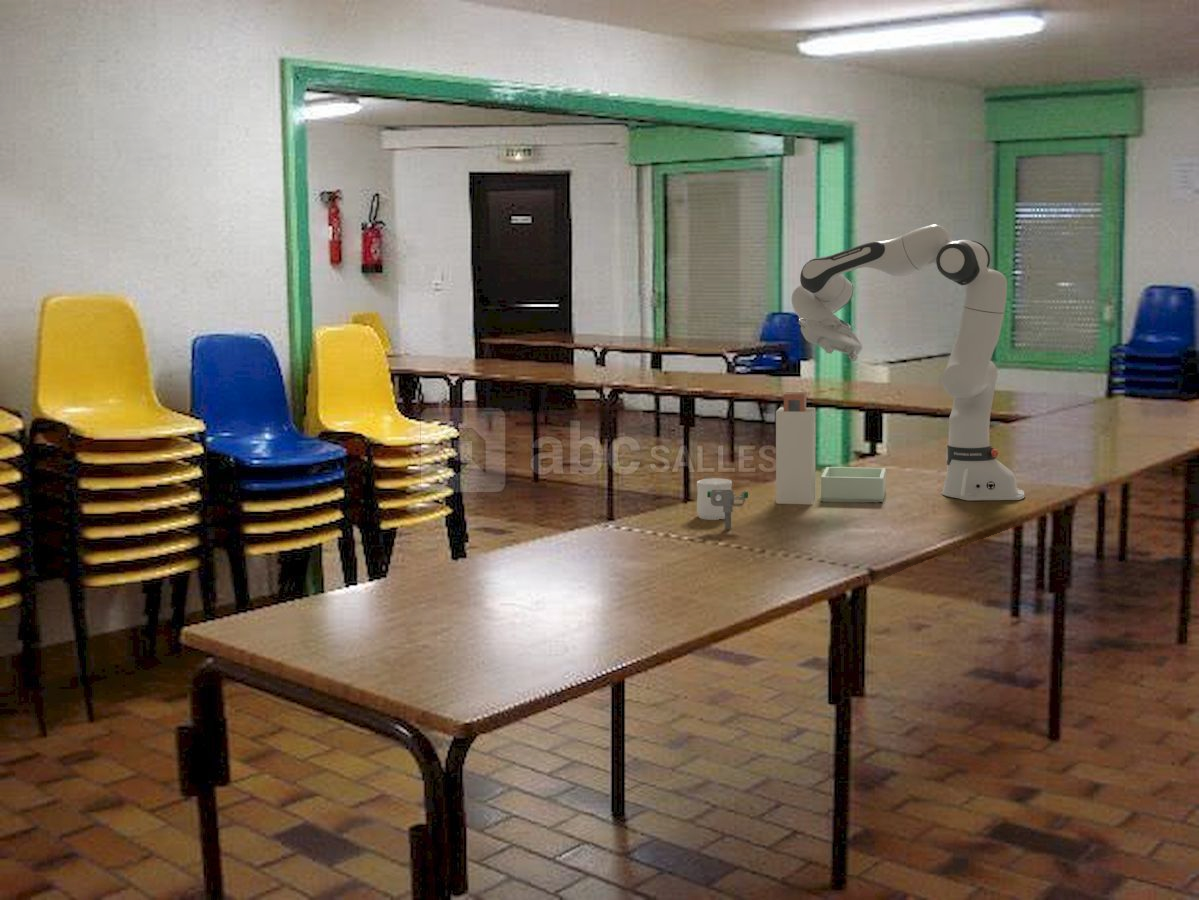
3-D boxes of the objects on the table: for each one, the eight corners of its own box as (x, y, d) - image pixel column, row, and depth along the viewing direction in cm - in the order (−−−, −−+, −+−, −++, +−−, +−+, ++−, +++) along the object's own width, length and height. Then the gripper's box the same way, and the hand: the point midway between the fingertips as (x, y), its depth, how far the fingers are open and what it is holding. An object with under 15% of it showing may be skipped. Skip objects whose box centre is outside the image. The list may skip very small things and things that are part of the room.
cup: (731, 512, 359) (731, 477, 357) (733, 520, 349) (732, 484, 348) (696, 513, 360) (696, 477, 358) (697, 520, 350) (696, 484, 348)
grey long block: (810, 404, 381) (810, 387, 380) (804, 411, 364) (804, 394, 363) (791, 403, 382) (791, 387, 381) (783, 411, 365) (783, 394, 365)
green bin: (885, 491, 383) (885, 468, 382) (882, 503, 367) (882, 478, 366) (826, 490, 387) (826, 466, 386) (820, 501, 371) (821, 477, 370)
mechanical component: (747, 530, 336) (747, 492, 334) (707, 529, 338) (706, 491, 336) (748, 528, 339) (748, 489, 337) (708, 527, 341) (708, 489, 339)
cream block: (815, 498, 376) (815, 407, 372) (812, 504, 367) (812, 411, 363) (780, 497, 378) (779, 407, 374) (776, 503, 370) (775, 411, 366)
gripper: (802, 309, 379) (822, 338, 370) (853, 325, 390) (874, 354, 381) (790, 325, 382) (809, 355, 373) (841, 342, 393) (861, 371, 384)
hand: (842, 355), depth 377 cm, fingers open, 8 cm apart
